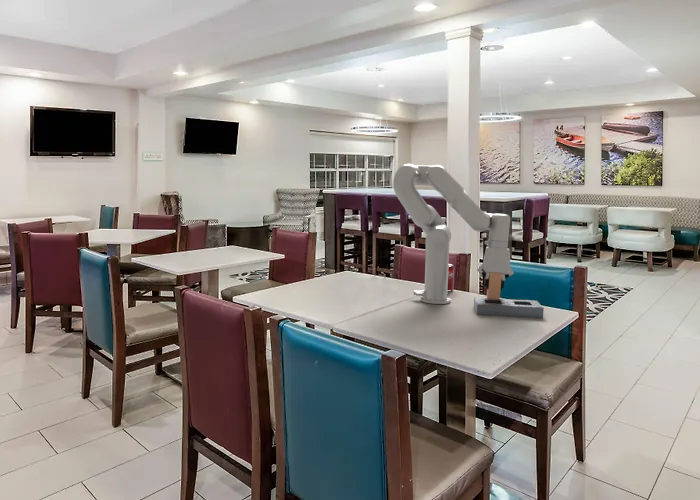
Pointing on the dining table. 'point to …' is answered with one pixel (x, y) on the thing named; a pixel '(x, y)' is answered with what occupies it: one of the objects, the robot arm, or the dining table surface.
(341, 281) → the dining table surface
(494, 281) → the square peg
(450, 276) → the soda can
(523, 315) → the gray peg hole board
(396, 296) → the dining table surface
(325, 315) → the dining table surface
